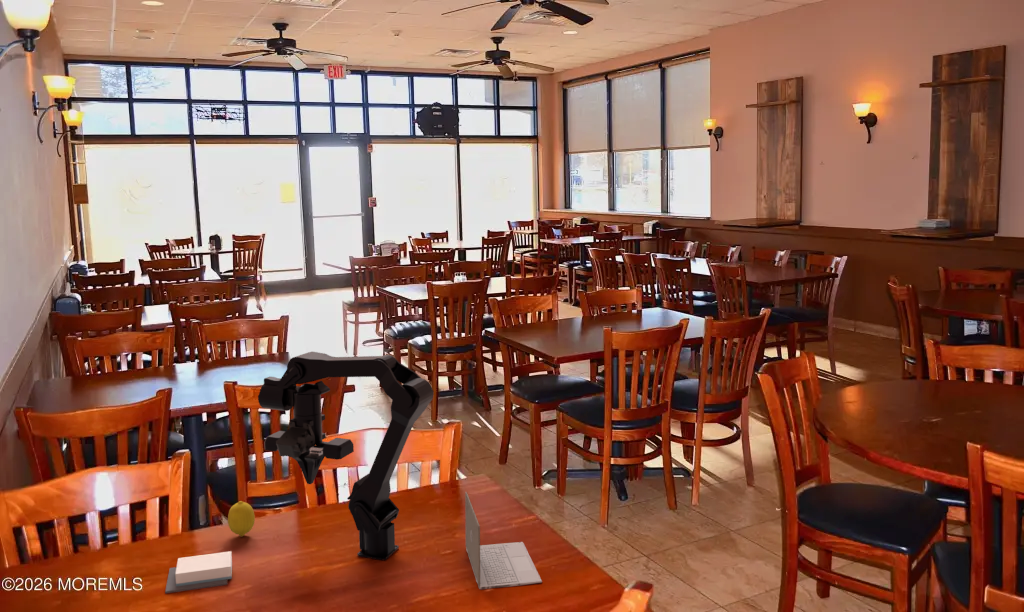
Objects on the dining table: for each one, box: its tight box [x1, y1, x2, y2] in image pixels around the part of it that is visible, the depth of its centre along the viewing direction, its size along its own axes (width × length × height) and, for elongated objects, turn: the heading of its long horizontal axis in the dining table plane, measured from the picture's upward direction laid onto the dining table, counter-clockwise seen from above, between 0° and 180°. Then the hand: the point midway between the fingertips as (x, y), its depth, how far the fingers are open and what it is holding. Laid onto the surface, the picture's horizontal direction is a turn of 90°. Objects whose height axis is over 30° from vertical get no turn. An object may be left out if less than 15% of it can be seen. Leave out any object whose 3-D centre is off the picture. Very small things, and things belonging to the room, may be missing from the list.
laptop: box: [464, 491, 543, 590], centre depth 165 cm, size 18×12×13 cm
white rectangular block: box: [175, 550, 233, 586], centre depth 161 cm, size 2×7×10 cm
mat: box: [164, 566, 228, 594], centre depth 161 cm, size 11×10×1 cm
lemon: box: [227, 500, 256, 537], centre depth 179 cm, size 6×6×8 cm
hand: (310, 483), depth 175 cm, fingers closed
